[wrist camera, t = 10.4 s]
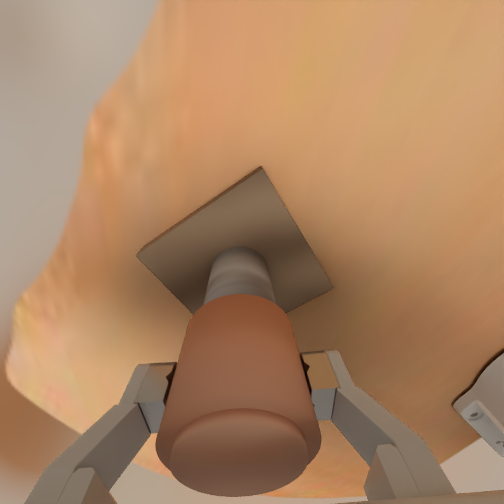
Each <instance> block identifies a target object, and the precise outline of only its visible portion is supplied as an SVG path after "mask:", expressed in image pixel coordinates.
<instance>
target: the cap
mask: <svg viewBox="0 0 504 504" xmlns="http://www.w3.org/2000/svg"><path fill="white" fill-rule="evenodd" d="M320 446H321V433H320V429H319V425H318V421H317V418H316V414H315V410H314V407H313V403H312V399H311V395H310V392H309V388H308V384H307V381H306V377H305V373H304V369H303V366H302V362H301V358H300V355H299V351H298V347H297V343H296V340H295V336H294V332H293V329H292V325H291V322H290V320H289V318H288V316H287V315H286V313H285V312H284V311H283V310H282V309H281V308H280V307H279V306H278V305H276V304H275V303H273V302H272V301H270V300H267V299H265V298H262V297H259V296H255V295H249V294H233V295H226V296H222V297H219V298H216V299H214V300H212V301H210V302H208V303H206V304H205V305H203V306H202V307H201V308H200V309H198V310H197V311H196V313H195V314H194V315H193V316H192V318H191V320H190V322H189V325H188V328H187V331H186V335H185V338H184V342H183V345H182V349H181V353H180V356H179V360H178V363H177V367H176V370H175V374H174V377H173V381H172V385H171V388H170V392H169V395H168V399H167V402H166V406H165V410H164V413H163V417H162V420H161V424H160V427H159V431H158V434H157V438H156V452H157V455H158V457H159V459H160V460H161V462H162V463H163V464H164V465H165V466H166V467H167V468H168V469H169V470H170V471H171V472H172V474H173V476H174V477H175V478H176V479H177V480H178V481H179V482H180V483H182V484H184V485H185V486H187V487H189V488H191V489H193V490H196V491H198V492H202V493H205V494H210V495H216V496H226V497H239V496H240V497H241V496H252V495H258V494H263V493H267V492H270V491H273V490H276V489H279V488H281V487H283V486H285V485H287V484H289V483H291V482H292V481H294V480H295V479H296V478H298V477H299V476H300V475H301V474H302V473H303V471H304V470H305V468H306V466H307V465H308V464H309V463H310V462H311V461H312V460H313V459H314V458H315V456H316V455H317V453H318V451H319V449H320Z"/></svg>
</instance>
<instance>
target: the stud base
mask: <svg viewBox="0 0 504 504" xmlns="http://www.w3.org/2000/svg"><path fill="white" fill-rule="evenodd" d="M135 256H136V257H137V258H138V259H139V260H140V261H141V262H142V263H143V264H144V265H145V266H146V267H147V268H148V269H149V270H150V271H151V272H152V273H153V274H154V275H155V276H156V277H157V278H158V279H159V280H160V281H161V282H162V283H163V284H164V285H165V286H166V287H167V288H168V289H169V290H170V291H171V292H172V293H173V294H174V295H175V296H176V297H177V298H178V299H179V300H180V301H181V302H182V303H183V304H184V305H185V306H186V307H187V309H188V310H189V311H190V312H191V313H192V314H193V315H194V314H195V313H196V311H197V310H198V309H200V308H201V307H202V306H203V305H205V304H206V303H208V302H210V301H212V300H214V299H216V298H219V297H222V296H226V295H233V294H249V295H255V296H259V297H262V298H265V299H267V300H270V301H272V302H273V303H275V304H276V305H278V306H279V307H280V308H281V309H282V310H283V311H284V312H285V313H287V312H289V311H291V310H293V309H295V308H297V307H298V306H300V305H302V304H304V303H306V302H308V301H310V300H312V299H314V298H316V297H318V296H319V295H321V294H323V293H325V292H327V291H329V290H331V289H333V288H334V287H333V285H332V283H331V282H330V280H329V278H328V277H327V275H326V273H325V272H324V270H323V268H322V267H321V265H320V263H319V262H318V260H317V258H316V256H315V255H314V253H313V251H312V250H311V248H310V246H309V245H308V243H307V241H306V240H305V238H304V236H303V235H302V233H301V231H300V230H299V228H298V226H297V225H296V223H295V221H294V220H293V218H292V216H291V215H290V213H289V211H288V210H287V208H286V206H285V205H284V203H283V201H282V200H281V198H280V196H279V195H278V193H277V191H276V190H275V188H274V186H273V185H272V183H271V181H270V180H269V178H268V176H267V175H266V173H265V171H264V170H263V168H262V167H261V166H260V167H259V168H257V169H256V170H254V171H253V172H251V173H250V174H248V175H247V176H245V177H244V178H243V179H241V180H240V181H238V182H237V183H235V184H234V185H232V186H231V187H229V188H228V189H227V190H225V191H224V192H222V193H221V194H219V195H218V196H216V197H215V198H213V199H212V200H211V201H209V202H208V203H206V204H205V205H203V206H202V207H200V208H199V209H197V210H196V211H194V212H193V213H192V214H190V215H189V216H187V217H186V218H184V219H183V220H181V221H180V222H178V223H177V224H176V225H174V226H173V227H171V228H170V229H168V230H167V231H165V232H164V233H162V234H161V235H160V236H158V237H157V238H155V239H154V240H152V241H151V242H149V243H148V244H146V245H145V246H144V247H143V248H142V249H141V250H140V251H139V252H138V253H137V254H136V255H135Z"/></svg>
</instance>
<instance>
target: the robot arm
mask: <svg viewBox="0 0 504 504" xmlns="http://www.w3.org/2000/svg"><path fill="white" fill-rule="evenodd" d="M300 358H301V362H302V366H303V369H304V373H305V377H306V381H307V384H308V388H309V392H310V395H311V399H312V403H313V407H314V410H315V414H316V418H317V420H332V422H333V423H334V424H335V426H336V427H337V428H338V429H339V430H340V431H341V433H342V434H343V435H344V436H345V437H346V439H347V440H348V441H349V442H350V443H351V445H352V446H353V447H354V448H355V449H356V451H357V452H358V453H359V454H360V455H361V456H362V458H363V459H364V460H365V461H366V462H367V464H368V465H369V466H370V470H369V473H368V476H367V479H366V482H365V485H364V490H365V493H366V496H367V498H368V501H362V502H350V503H338V504H504V490H497V491H484V492H474V493H460V494H457V493H456V492H455V490H454V488H453V487H452V485H451V483H450V482H449V480H448V479H447V477H446V475H445V474H444V472H443V470H442V469H441V467H440V465H439V464H438V462H437V460H436V459H435V457H434V455H433V454H432V452H431V450H430V449H429V447H428V445H427V444H426V442H425V441H424V440H423V439H422V438H421V437H420V436H419V435H417V434H416V433H415V432H414V431H412V430H411V429H410V428H409V427H408V426H406V425H405V424H404V423H403V422H401V421H400V420H399V419H398V418H397V417H395V416H394V415H393V414H392V413H390V412H389V411H388V410H387V409H386V408H384V407H383V406H382V405H381V404H379V403H378V402H377V401H376V400H375V399H373V398H372V397H371V396H370V395H369V394H367V393H366V392H365V391H364V390H362V389H361V388H360V387H355V385H354V383H353V381H352V379H351V376H350V374H349V372H348V370H347V368H346V366H345V364H344V361H343V359H342V357H341V355H340V353H339V351H338V350H330V351H315V352H303V353H300ZM176 367H177V362H169V363H149V364H139V365H138V366H137V367H136V368H135V370H134V372H133V374H132V376H131V379H130V381H129V383H128V385H127V387H126V389H125V392H124V394H123V396H122V398H121V400H120V402H119V405H114V406H113V407H112V408H111V409H110V410H109V411H108V412H107V413H105V414H104V415H103V416H102V417H101V418H100V419H99V420H98V421H97V422H96V423H95V424H93V425H92V426H91V427H90V428H89V429H88V430H87V431H86V432H85V433H84V434H83V435H82V436H80V437H79V438H78V439H77V440H76V441H75V442H74V443H73V444H72V445H71V446H70V447H68V448H67V449H66V450H65V451H64V452H63V453H62V454H61V455H60V456H59V457H58V458H57V459H55V460H54V461H53V462H52V463H51V464H50V465H49V466H48V467H47V468H46V469H45V470H44V472H43V473H42V475H41V477H40V478H39V480H38V482H37V483H36V485H35V487H34V489H33V490H32V492H31V493H30V495H29V497H28V499H27V500H26V502H25V503H24V504H117V502H116V501H115V499H114V498H113V497H112V495H111V494H110V492H109V490H110V489H111V488H112V486H113V485H114V484H115V482H116V481H117V480H118V478H119V477H120V476H121V474H122V473H123V471H124V470H125V469H126V468H127V466H128V465H129V464H130V462H131V461H132V459H133V458H134V457H135V455H136V454H137V453H138V451H139V450H140V449H141V447H142V446H143V445H144V443H145V442H146V441H147V439H148V438H149V437H150V434H151V433H158V431H159V427H160V424H161V420H162V417H163V413H164V410H165V406H166V402H167V399H168V395H169V392H170V388H171V385H172V381H173V377H174V374H175V370H176ZM453 407H454V409H455V410H456V411H457V412H458V413H459V414H460V415H461V417H462V418H463V419H464V420H465V421H466V422H467V423H468V424H469V425H470V426H471V427H472V428H473V429H474V430H475V431H476V432H477V433H478V434H479V435H480V436H481V437H482V438H483V439H484V440H485V441H486V442H487V443H488V444H489V445H490V446H491V447H492V448H493V449H494V450H495V451H496V452H497V453H498V454H499V455H501V456H502V457H504V353H503V354H502V355H501V356H499V357H498V358H497V359H496V360H494V361H493V362H492V363H491V364H490V365H489V366H488V367H487V368H486V369H485V370H484V372H483V373H482V374H481V375H480V377H479V378H478V380H477V381H476V383H475V384H474V386H473V387H472V388H471V389H470V390H469V391H468V392H467V393H465V394H464V395H463V396H461V397H460V398H459V399H458V400H457V401H456V402H455V403H454V405H453Z"/></svg>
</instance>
